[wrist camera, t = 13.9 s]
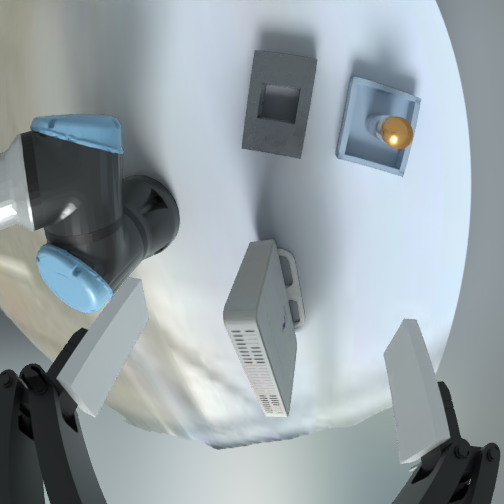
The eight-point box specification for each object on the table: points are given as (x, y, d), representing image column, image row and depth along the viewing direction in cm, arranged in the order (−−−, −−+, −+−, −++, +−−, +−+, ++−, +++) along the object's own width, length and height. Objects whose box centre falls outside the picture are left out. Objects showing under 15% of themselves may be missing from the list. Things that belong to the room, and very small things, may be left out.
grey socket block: (300, 153, 38) (300, 158, 35) (247, 144, 39) (241, 148, 36) (316, 63, 31) (317, 59, 28) (259, 55, 32) (254, 50, 28)
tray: (396, 171, 36) (402, 176, 34) (335, 154, 37) (337, 158, 35) (413, 98, 30) (421, 98, 28) (350, 77, 31) (353, 75, 29)
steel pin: (362, 133, 34) (379, 143, 26) (367, 109, 32) (386, 112, 24) (385, 140, 34) (409, 153, 26) (391, 117, 32) (416, 122, 24)
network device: (308, 336, 57) (301, 419, 40) (268, 338, 59) (251, 418, 42) (288, 228, 45) (274, 313, 28) (238, 235, 47) (198, 316, 31)
